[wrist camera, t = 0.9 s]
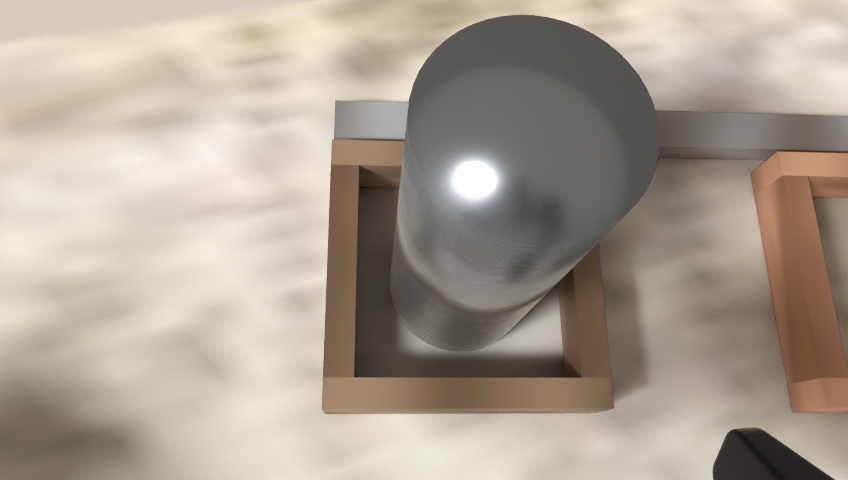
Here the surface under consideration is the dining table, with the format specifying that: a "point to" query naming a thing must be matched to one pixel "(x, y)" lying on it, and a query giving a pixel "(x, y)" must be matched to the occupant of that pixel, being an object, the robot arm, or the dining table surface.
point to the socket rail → (582, 286)
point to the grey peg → (512, 172)
